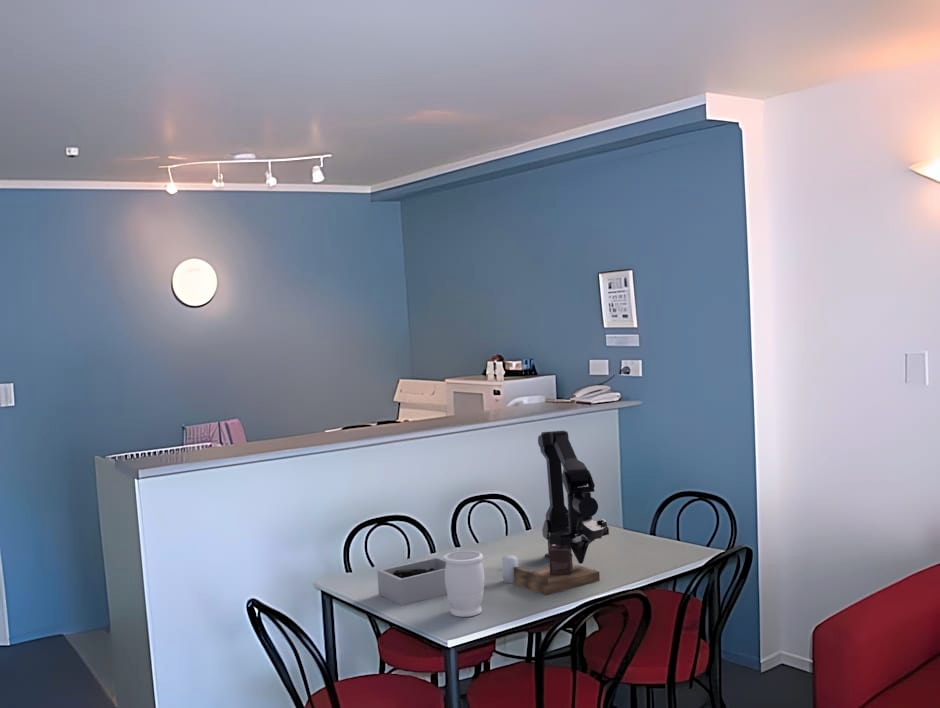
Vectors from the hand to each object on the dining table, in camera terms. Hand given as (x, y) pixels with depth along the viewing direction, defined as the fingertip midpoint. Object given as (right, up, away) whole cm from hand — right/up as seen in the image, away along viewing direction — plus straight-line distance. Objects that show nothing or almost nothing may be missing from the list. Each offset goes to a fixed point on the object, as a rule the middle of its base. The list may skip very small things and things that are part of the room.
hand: (580, 563), depth 262 cm
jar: (-33, -7, -27) cm, 43 cm away
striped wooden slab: (-7, -4, -5) cm, 10 cm away
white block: (-20, -5, -2) cm, 21 cm away
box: (-6, -2, -4) cm, 8 cm away
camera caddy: (-46, -6, -8) cm, 47 cm away
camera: (-46, -8, -8) cm, 48 cm away
